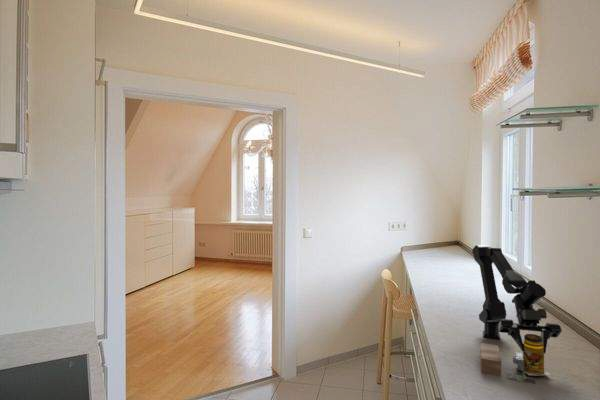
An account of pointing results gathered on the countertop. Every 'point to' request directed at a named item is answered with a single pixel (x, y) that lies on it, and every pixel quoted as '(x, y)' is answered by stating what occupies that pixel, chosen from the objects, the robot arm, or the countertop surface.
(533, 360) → the condiment
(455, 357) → the countertop surface
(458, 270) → the countertop surface
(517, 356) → the plunger
